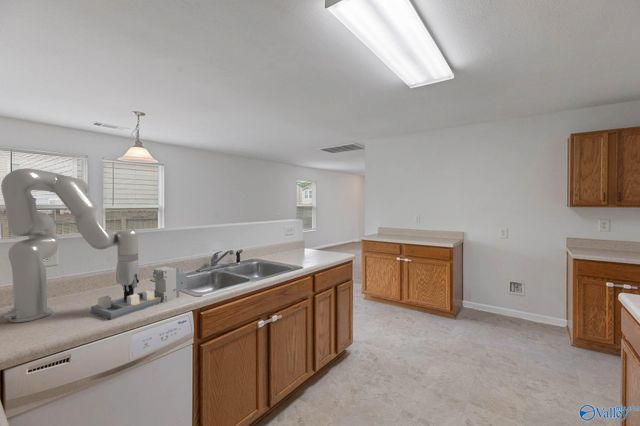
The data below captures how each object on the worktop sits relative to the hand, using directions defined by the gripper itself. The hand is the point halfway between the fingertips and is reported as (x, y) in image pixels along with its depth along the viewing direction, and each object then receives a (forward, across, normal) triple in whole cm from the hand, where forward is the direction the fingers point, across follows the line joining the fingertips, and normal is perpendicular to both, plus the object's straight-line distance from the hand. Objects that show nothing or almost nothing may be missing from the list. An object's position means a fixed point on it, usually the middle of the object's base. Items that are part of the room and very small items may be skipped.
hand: (128, 299), depth 125 cm
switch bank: (+4, -1, 0) cm, 4 cm away
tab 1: (+2, -5, -7) cm, 9 cm away
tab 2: (+3, +3, 0) cm, 4 cm away
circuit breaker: (+4, +4, +18) cm, 19 cm away
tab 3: (+3, +3, +7) cm, 8 cm away
